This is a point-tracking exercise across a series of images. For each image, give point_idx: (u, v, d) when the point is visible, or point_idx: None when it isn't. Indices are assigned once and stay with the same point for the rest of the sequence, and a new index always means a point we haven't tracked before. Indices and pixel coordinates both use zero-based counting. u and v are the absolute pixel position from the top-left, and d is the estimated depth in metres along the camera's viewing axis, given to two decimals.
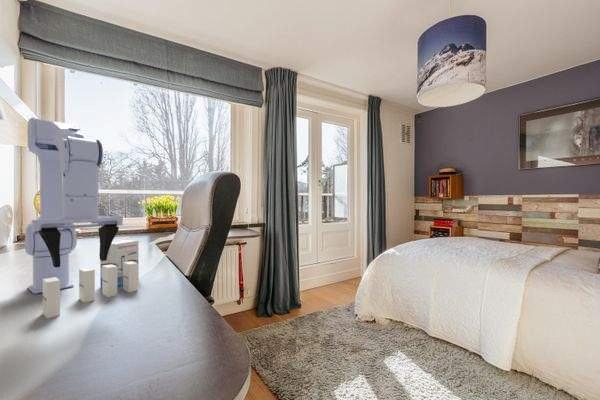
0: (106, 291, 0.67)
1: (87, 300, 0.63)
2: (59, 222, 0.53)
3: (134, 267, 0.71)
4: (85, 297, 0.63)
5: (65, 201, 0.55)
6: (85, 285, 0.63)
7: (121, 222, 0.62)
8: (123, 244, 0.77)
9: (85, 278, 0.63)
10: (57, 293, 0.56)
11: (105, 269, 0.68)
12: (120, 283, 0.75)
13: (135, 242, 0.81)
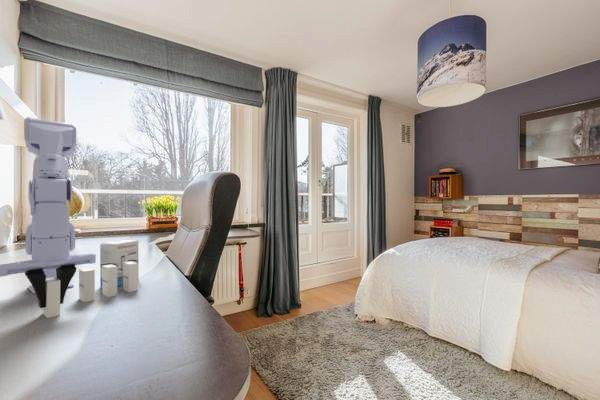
0: (106, 291, 0.67)
1: (87, 300, 0.63)
2: (27, 266, 0.52)
3: (134, 267, 0.71)
4: (85, 297, 0.63)
5: (33, 244, 0.54)
6: (85, 285, 0.63)
7: (94, 260, 0.61)
8: (123, 244, 0.77)
9: (85, 278, 0.63)
10: (57, 293, 0.56)
11: (105, 269, 0.68)
12: (120, 283, 0.75)
13: (135, 242, 0.81)
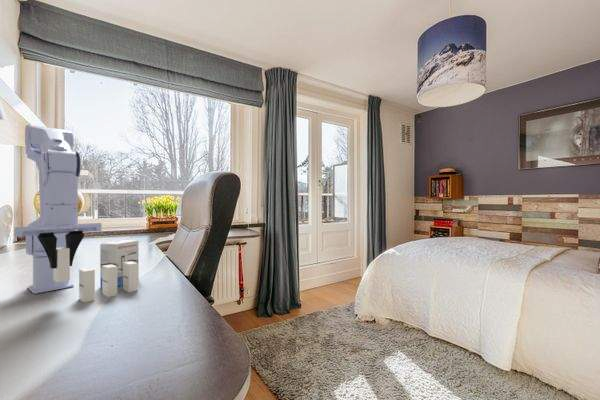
0: (106, 291, 0.67)
1: (87, 300, 0.63)
2: (39, 229, 0.58)
3: (134, 267, 0.71)
4: (85, 297, 0.63)
5: (45, 209, 0.59)
6: (85, 285, 0.63)
7: (100, 228, 0.66)
8: (123, 244, 0.77)
9: (85, 278, 0.63)
10: (67, 260, 0.61)
11: (105, 269, 0.68)
12: (120, 283, 0.75)
13: (135, 242, 0.81)
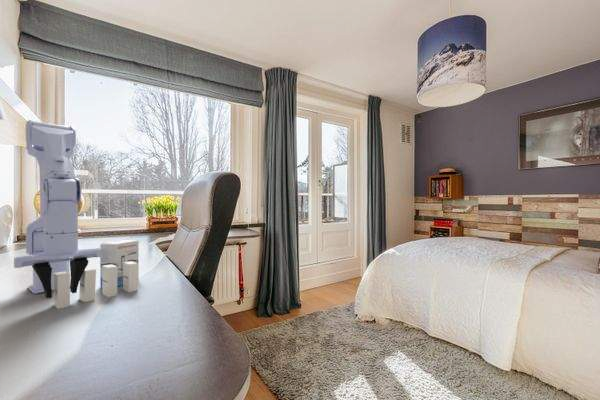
0: (106, 291, 0.67)
1: (87, 300, 0.63)
2: (39, 259, 0.57)
3: (134, 267, 0.71)
4: (85, 297, 0.63)
5: (45, 238, 0.59)
6: (86, 285, 0.63)
7: (100, 254, 0.66)
8: (123, 244, 0.77)
9: (86, 278, 0.63)
10: (67, 286, 0.61)
11: (105, 269, 0.68)
12: (120, 283, 0.75)
13: (135, 242, 0.81)
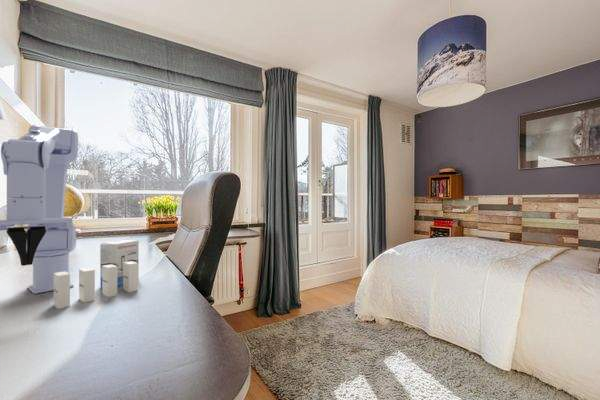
0: (106, 291, 0.67)
1: (87, 300, 0.63)
2: (1, 224, 0.53)
3: (134, 267, 0.71)
4: (85, 297, 0.63)
5: (8, 203, 0.55)
6: (85, 285, 0.63)
7: (71, 223, 0.62)
8: (123, 244, 0.77)
9: (85, 278, 0.63)
10: (67, 286, 0.61)
11: (105, 269, 0.68)
12: (120, 283, 0.75)
13: (135, 242, 0.81)
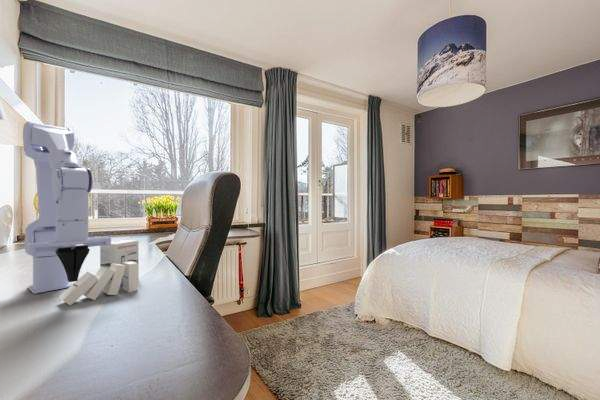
0: (107, 289, 0.68)
1: (90, 296, 0.64)
2: (52, 245, 0.59)
3: (134, 267, 0.71)
4: (90, 292, 0.64)
5: (58, 225, 0.61)
6: (98, 281, 0.65)
7: (110, 242, 0.68)
8: (123, 244, 0.77)
9: (103, 275, 0.66)
10: (87, 287, 0.63)
11: (113, 266, 0.69)
12: None
13: (135, 242, 0.81)
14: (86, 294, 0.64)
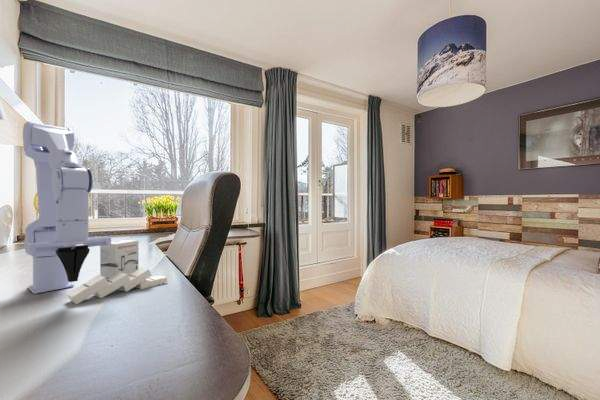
0: None
1: (99, 292, 0.65)
2: (52, 245, 0.59)
3: (163, 282, 0.78)
4: (102, 289, 0.66)
5: (58, 225, 0.61)
6: (114, 282, 0.68)
7: (110, 242, 0.68)
8: (123, 244, 0.77)
9: (121, 278, 0.69)
10: (97, 289, 0.65)
11: (143, 269, 0.75)
12: None
13: (135, 242, 0.81)
14: None
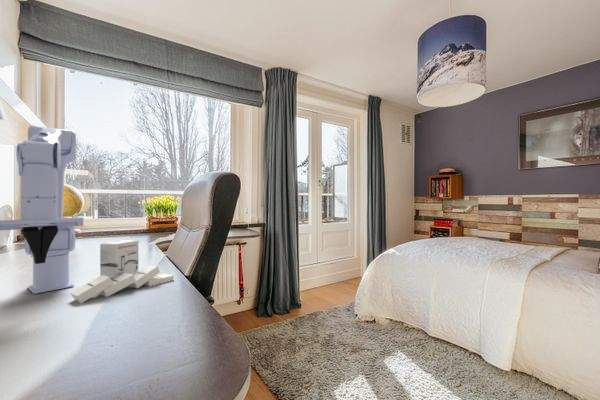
0: (135, 279, 0.74)
1: (106, 291, 0.67)
2: (15, 223, 0.55)
3: None
4: (109, 288, 0.67)
5: (22, 203, 0.56)
6: (120, 282, 0.69)
7: (82, 223, 0.64)
8: (123, 244, 0.77)
9: (127, 278, 0.70)
10: (101, 289, 0.66)
11: (151, 267, 0.78)
12: None
13: (135, 242, 0.81)
14: None
